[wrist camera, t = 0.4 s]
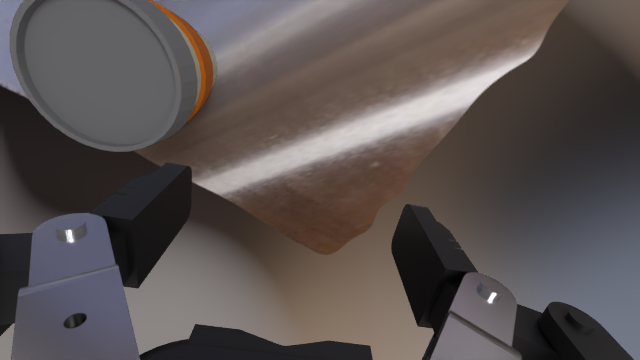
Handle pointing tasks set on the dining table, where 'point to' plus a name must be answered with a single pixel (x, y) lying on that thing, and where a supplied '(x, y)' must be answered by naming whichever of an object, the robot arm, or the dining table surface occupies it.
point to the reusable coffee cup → (111, 69)
